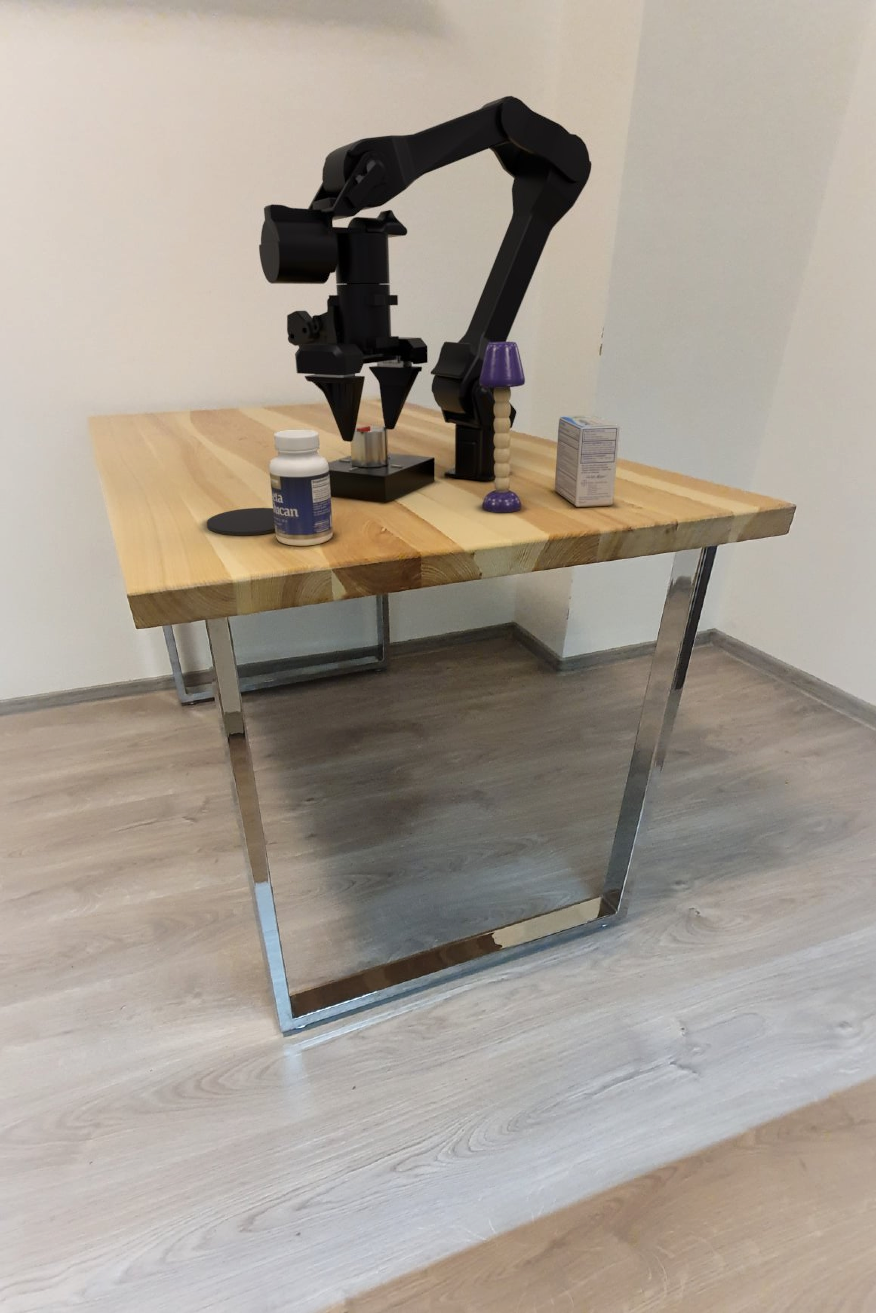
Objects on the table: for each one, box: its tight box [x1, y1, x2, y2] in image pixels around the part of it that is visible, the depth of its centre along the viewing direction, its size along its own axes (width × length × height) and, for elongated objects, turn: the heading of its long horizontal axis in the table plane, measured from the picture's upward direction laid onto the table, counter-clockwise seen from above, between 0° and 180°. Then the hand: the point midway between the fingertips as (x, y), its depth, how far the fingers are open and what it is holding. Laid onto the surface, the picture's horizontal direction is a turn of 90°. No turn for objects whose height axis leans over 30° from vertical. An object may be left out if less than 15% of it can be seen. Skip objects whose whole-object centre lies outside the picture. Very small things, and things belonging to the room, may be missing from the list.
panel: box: [328, 452, 436, 504], centre depth 87 cm, size 12×10×3 cm
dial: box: [349, 425, 389, 467], centre depth 85 cm, size 4×4×4 cm
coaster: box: [206, 507, 276, 537], centre depth 74 cm, size 9×9×1 cm
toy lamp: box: [479, 341, 526, 513], centre depth 76 cm, size 5×5×17 cm
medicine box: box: [554, 414, 620, 508], centre depth 81 cm, size 8×4×9 cm, turn 9°
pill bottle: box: [268, 429, 334, 547], centre depth 67 cm, size 5×5×10 cm
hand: (369, 435), depth 85 cm, fingers open, 9 cm apart
